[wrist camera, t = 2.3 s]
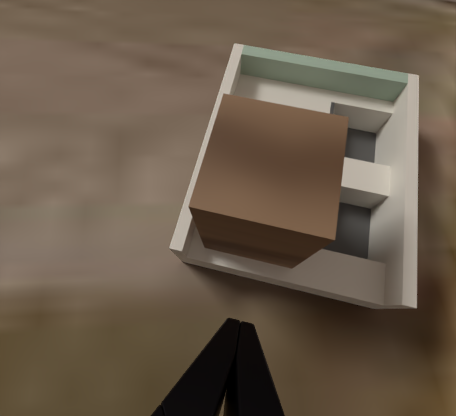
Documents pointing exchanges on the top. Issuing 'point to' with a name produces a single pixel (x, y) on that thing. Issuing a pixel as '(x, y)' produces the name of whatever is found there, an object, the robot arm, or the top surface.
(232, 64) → the box
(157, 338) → the top surface
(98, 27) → the top surface
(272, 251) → the walnut block
